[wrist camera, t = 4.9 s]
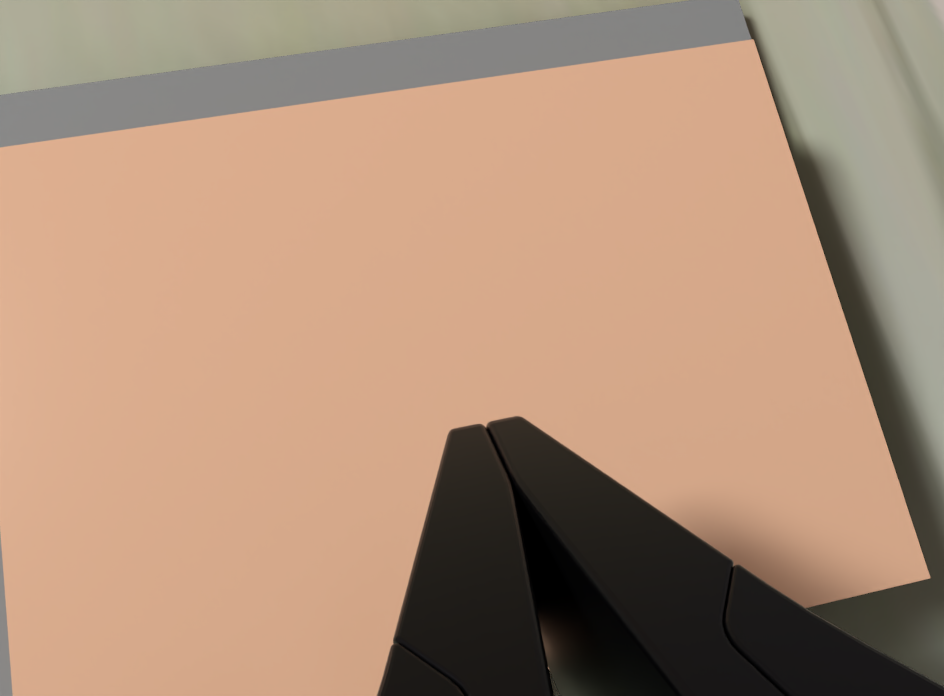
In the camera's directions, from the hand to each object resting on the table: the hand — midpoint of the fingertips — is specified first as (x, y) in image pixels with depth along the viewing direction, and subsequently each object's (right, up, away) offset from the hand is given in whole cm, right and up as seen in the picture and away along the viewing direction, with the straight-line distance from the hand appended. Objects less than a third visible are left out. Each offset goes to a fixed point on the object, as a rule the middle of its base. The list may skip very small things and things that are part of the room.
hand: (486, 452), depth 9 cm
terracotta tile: (0, -4, +4) cm, 6 cm away
